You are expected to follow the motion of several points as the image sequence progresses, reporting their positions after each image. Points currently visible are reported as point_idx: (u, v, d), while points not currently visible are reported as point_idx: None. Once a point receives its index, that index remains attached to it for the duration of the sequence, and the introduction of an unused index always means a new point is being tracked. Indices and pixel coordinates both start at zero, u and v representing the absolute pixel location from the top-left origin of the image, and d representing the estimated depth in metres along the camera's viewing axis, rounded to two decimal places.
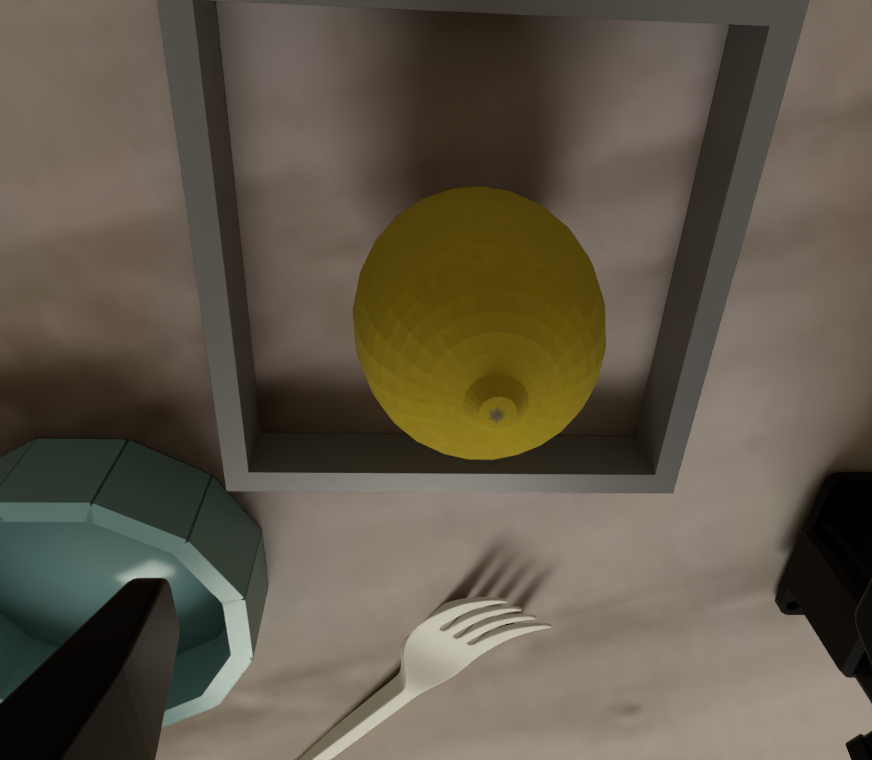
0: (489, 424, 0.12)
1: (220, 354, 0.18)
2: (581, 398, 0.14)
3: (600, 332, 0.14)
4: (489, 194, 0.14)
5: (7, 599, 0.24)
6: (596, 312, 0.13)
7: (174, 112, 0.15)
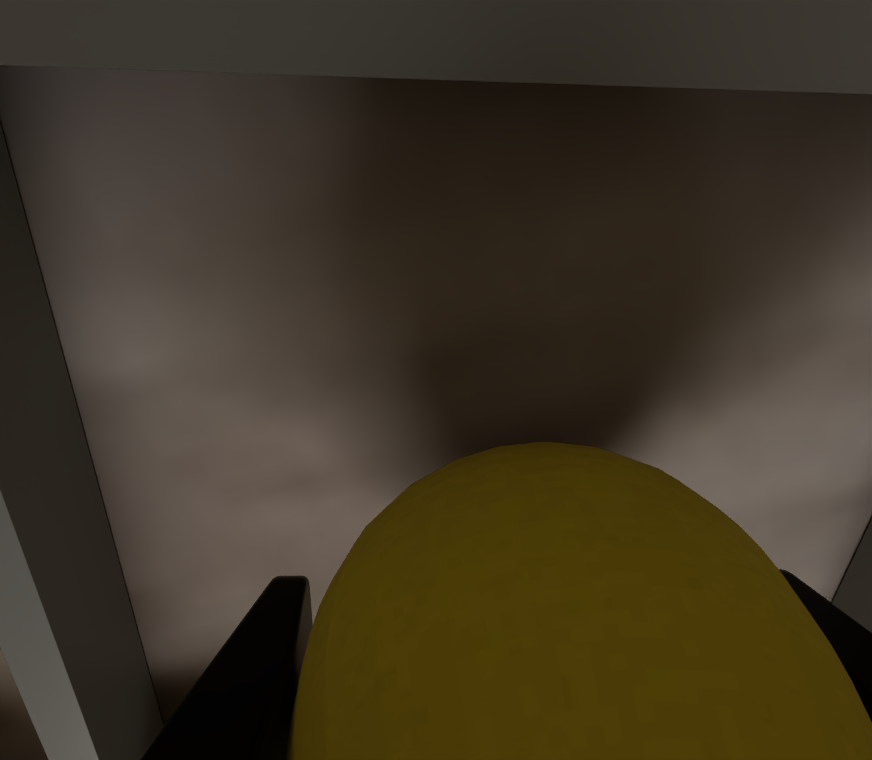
0: None
1: (52, 710, 0.09)
2: None
3: None
4: (613, 537, 0.06)
5: None
6: None
7: None
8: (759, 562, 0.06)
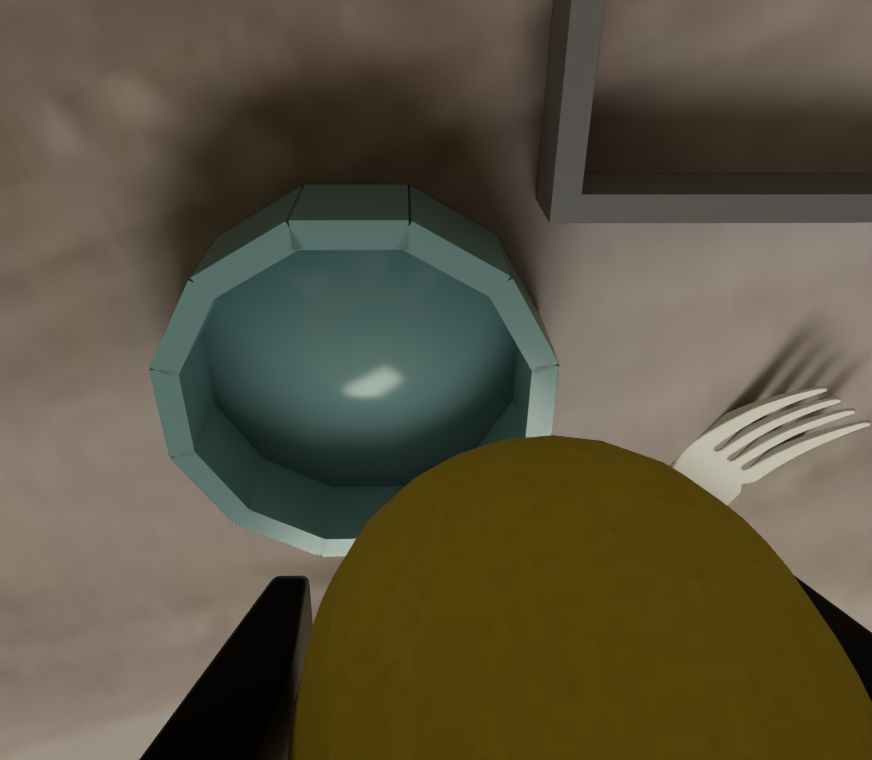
0: None
1: (586, 12, 0.15)
2: None
3: None
4: (618, 529, 0.06)
5: (243, 404, 0.21)
6: None
7: None
8: (765, 555, 0.06)
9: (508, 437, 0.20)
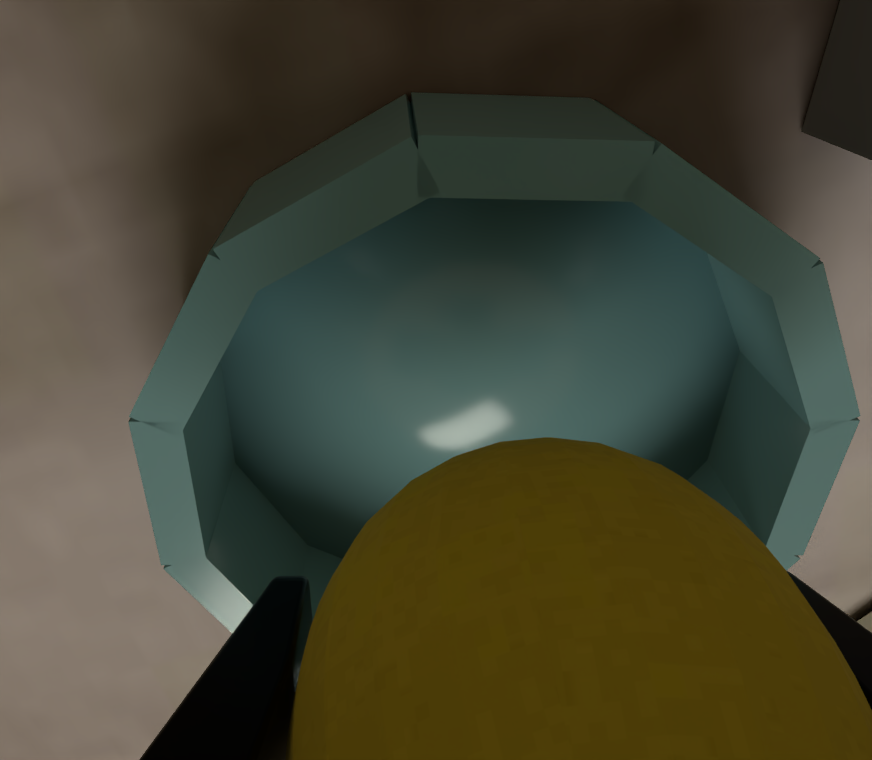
0: None
1: None
2: None
3: None
4: (615, 532, 0.06)
5: (281, 464, 0.13)
6: None
7: None
8: (762, 557, 0.06)
9: None
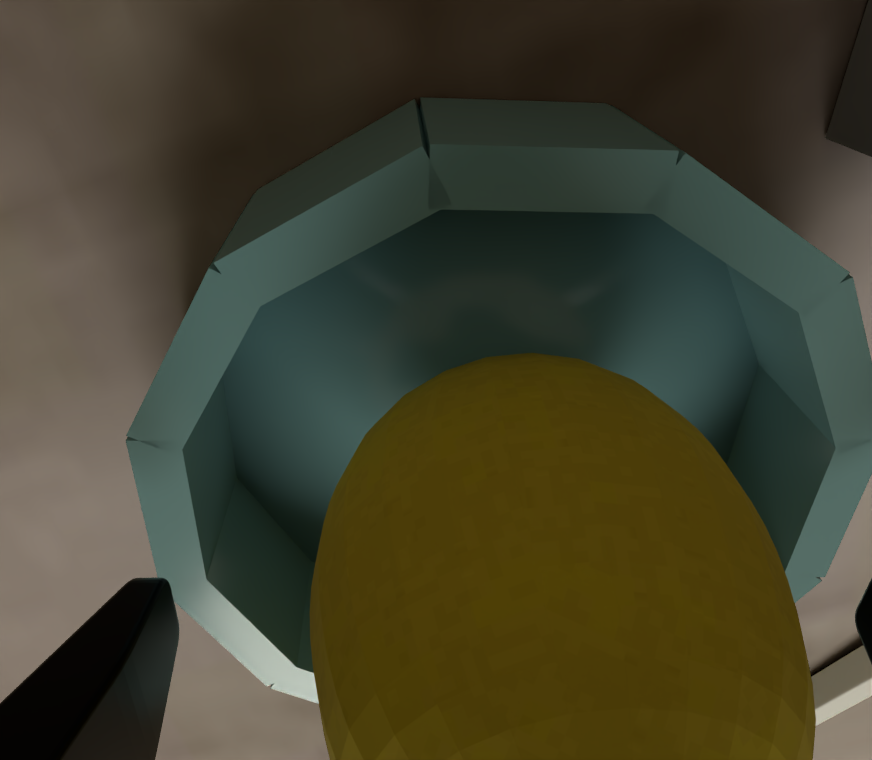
0: None
1: None
2: None
3: (814, 715, 0.07)
4: (572, 403, 0.07)
5: (284, 479, 0.13)
6: (807, 677, 0.06)
7: None
8: (692, 432, 0.08)
9: None
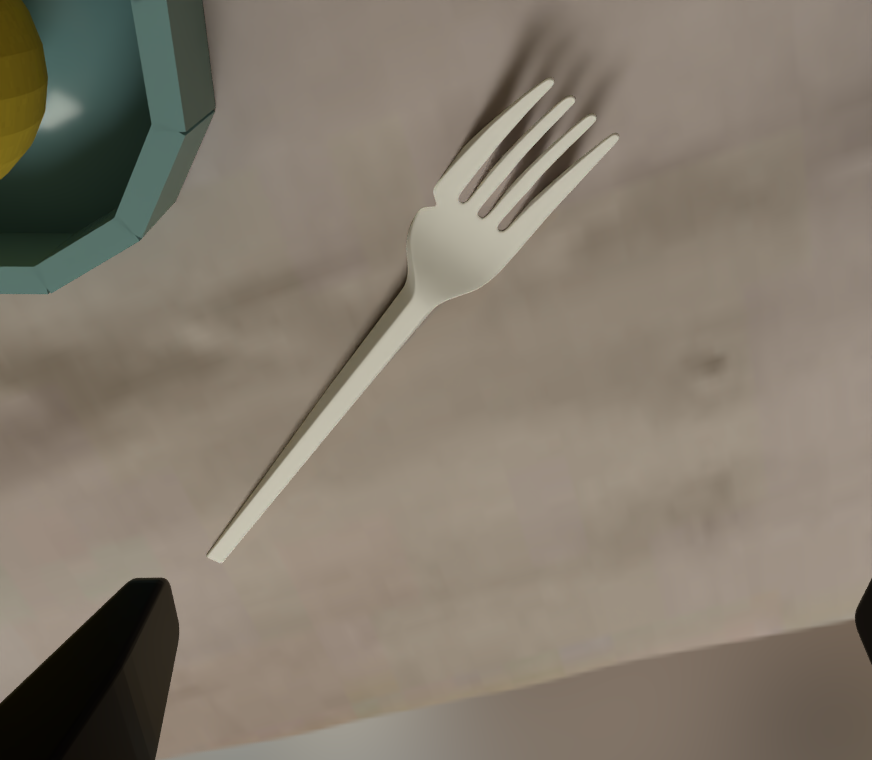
0: None
1: None
2: None
3: None
4: None
5: None
6: None
7: None
8: None
9: None
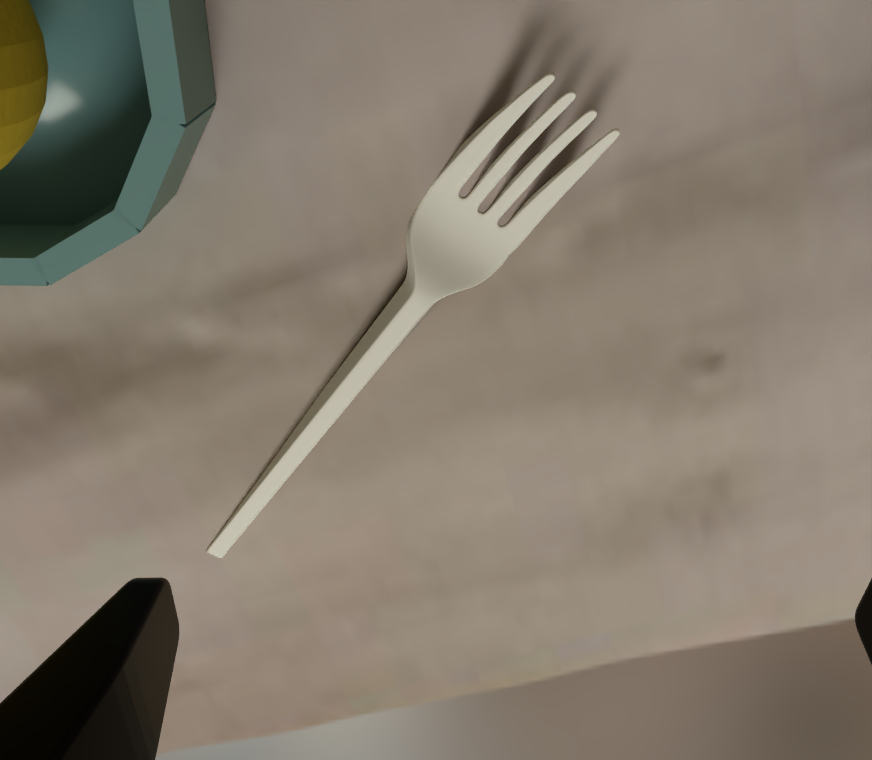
0: None
1: None
2: None
3: None
4: None
5: None
6: None
7: None
8: None
9: None
